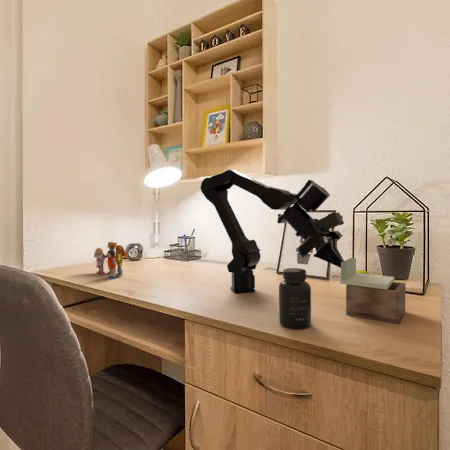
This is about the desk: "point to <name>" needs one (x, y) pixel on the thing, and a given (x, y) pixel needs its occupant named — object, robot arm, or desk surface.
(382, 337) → the desk surface
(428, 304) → the desk surface
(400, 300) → the pencil box
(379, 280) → the lid
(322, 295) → the desk surface
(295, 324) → the supplement bottle
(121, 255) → the doll family
